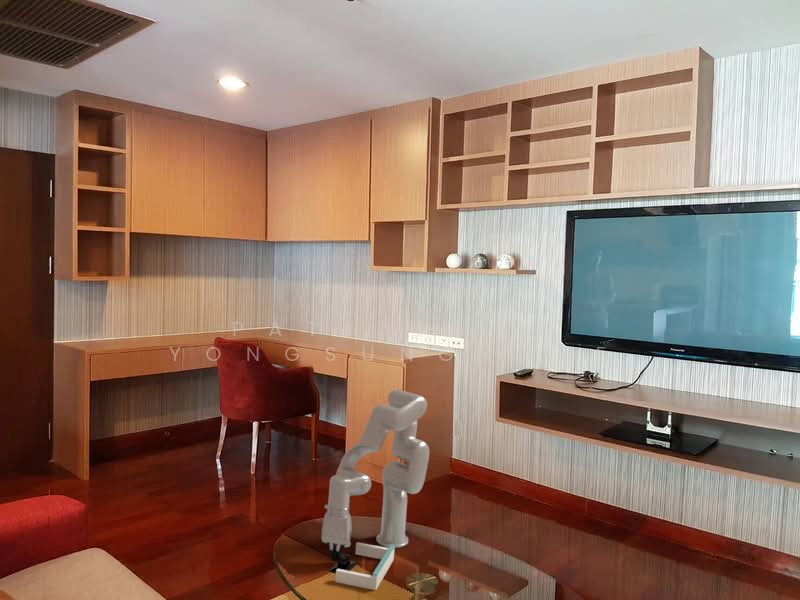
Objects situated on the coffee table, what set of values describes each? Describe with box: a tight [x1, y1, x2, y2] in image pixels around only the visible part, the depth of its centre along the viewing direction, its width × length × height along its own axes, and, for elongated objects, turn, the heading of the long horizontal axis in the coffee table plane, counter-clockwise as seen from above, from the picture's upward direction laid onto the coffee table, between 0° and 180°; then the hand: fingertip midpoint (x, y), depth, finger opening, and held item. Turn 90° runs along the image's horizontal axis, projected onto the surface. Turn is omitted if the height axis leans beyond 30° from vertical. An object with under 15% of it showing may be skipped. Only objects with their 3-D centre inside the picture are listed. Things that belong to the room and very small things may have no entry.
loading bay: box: [334, 541, 396, 591], centre depth 221 cm, size 23×14×5 cm, turn 166°
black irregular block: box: [327, 552, 359, 575], centre depth 222 cm, size 12×7×5 cm, turn 156°
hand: (335, 559), depth 224 cm, fingers closed
